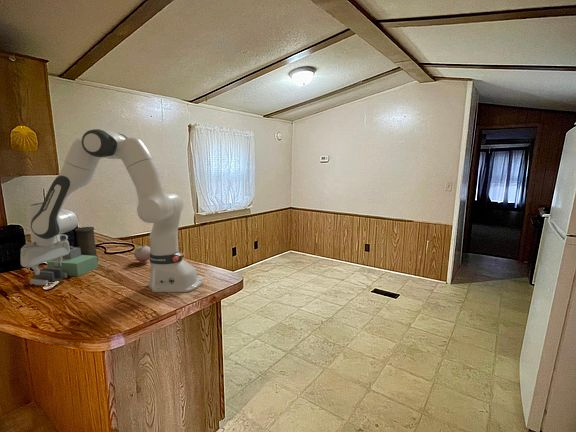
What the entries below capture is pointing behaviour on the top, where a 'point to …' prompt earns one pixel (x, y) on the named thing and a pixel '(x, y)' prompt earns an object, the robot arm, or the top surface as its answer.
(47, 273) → the chute
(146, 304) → the top surface
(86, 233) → the container
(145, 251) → the decorative fruit
